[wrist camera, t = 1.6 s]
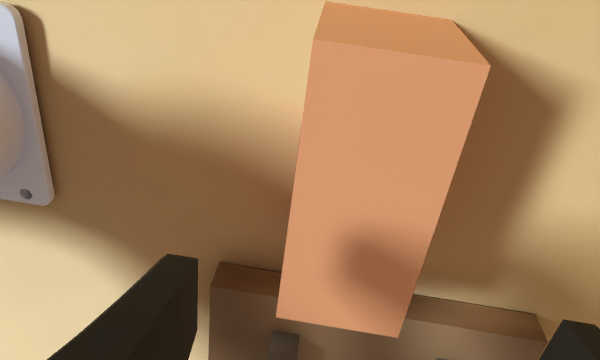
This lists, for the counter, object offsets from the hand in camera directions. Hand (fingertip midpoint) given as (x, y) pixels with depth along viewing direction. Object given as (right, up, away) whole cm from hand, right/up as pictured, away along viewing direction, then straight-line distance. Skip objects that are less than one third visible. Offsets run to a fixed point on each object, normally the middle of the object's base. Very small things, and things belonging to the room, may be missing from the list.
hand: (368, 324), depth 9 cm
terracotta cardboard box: (+1, +4, +8) cm, 9 cm away
